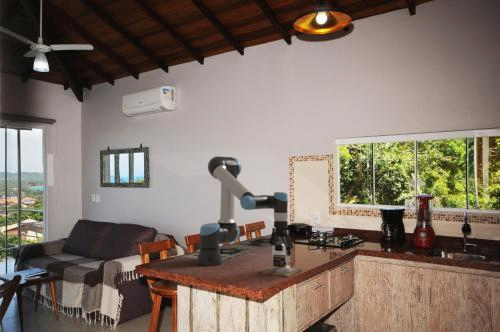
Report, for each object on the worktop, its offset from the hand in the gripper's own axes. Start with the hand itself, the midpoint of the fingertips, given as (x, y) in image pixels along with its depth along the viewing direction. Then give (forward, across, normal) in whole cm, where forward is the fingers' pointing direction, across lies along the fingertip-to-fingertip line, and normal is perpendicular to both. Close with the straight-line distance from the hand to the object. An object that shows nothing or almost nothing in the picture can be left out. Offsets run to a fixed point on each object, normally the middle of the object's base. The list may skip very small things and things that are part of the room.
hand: (280, 259), depth 200 cm
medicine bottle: (+4, 0, 0) cm, 4 cm away
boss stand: (+7, 0, 0) cm, 7 cm away
